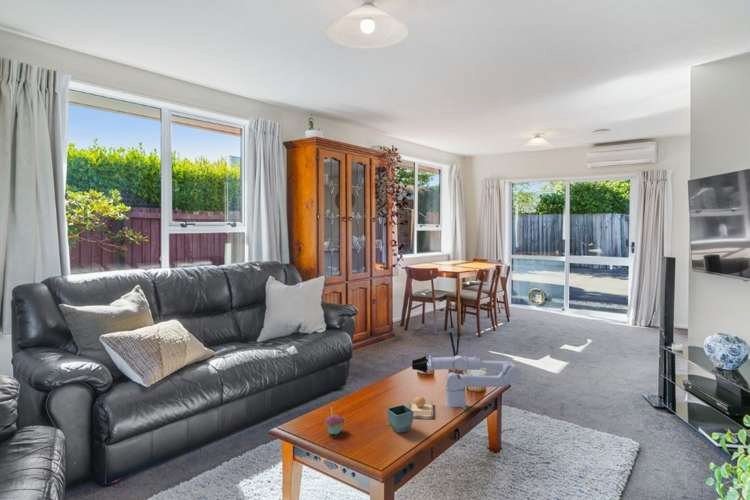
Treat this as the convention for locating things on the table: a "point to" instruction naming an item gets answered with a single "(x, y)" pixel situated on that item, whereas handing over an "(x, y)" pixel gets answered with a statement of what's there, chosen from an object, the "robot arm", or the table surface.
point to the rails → (423, 415)
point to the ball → (420, 401)
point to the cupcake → (334, 423)
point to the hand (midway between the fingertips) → (412, 364)
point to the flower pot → (400, 418)
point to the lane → (425, 408)
